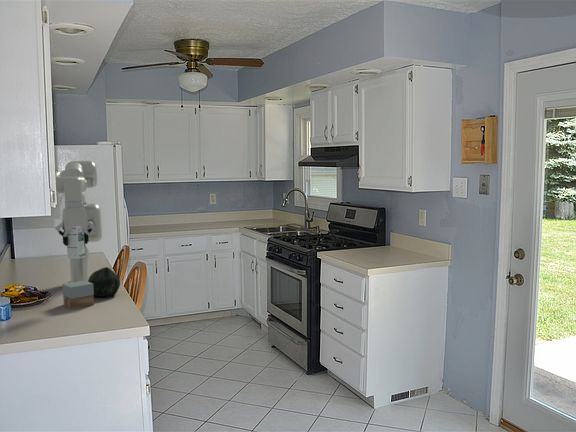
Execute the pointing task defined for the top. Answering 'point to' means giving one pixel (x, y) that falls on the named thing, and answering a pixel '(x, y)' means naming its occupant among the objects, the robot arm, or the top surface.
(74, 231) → the syrup box
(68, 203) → the robot arm
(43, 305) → the top surface
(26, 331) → the top surface
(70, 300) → the bottom block
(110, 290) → the squash
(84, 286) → the top block
